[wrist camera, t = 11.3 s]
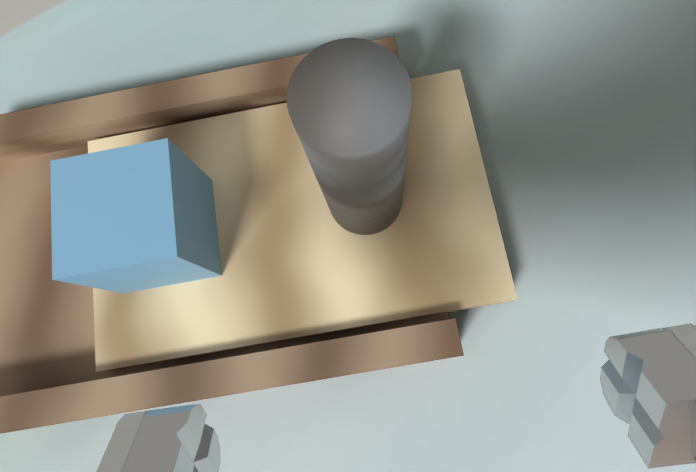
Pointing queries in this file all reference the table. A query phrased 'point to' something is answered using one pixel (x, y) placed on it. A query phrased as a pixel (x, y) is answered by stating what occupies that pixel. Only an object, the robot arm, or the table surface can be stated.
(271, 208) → the wooden board with post
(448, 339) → the track
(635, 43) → the table surface
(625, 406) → the robot arm
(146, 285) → the cube
